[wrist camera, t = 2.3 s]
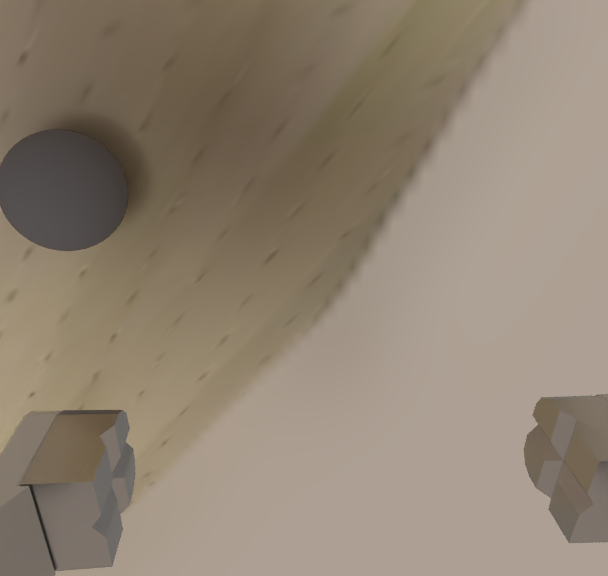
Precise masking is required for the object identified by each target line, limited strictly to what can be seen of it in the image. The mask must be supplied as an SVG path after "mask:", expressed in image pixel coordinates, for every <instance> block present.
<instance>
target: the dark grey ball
mask: <svg viewBox="0 0 608 576" xmlns="http://www.w3.org/2000/svg"><path fill="white" fill-rule="evenodd" d="M127 204H128V186H127V181H126V178H125V175H124V172H123V170H122V168H121V166H120V164H119V163H118V161H117V160H116V158H115V157H114V156H113V155H112V153H111V152H110V151H109V150H107V149H106V148H105V147H104V146H103V145H101V144H100V143H99V142H97V141H96V140H94V139H92V138H90V137H88V136H86V135H84V134H81V133H78V132H74V131H69V130H46V131H41V132H38V133H35V134H32V135H29V136H28V137H26V138H24V139H22V140H21V141H19V142H18V143H17V144H16V145H14V146H13V147H12V148H11V149H10V151H9V152H8V153H7V155H6V156H5V158H4V159H3V161H2V163H1V165H0V206H1V208H2V211H3V213H4V215H5V216H6V218H7V219H8V221H9V222H10V223H11V225H12V226H13V227H14V228H15V229H16V230H17V231H18V232H19V233H20V234H22V235H23V236H24V237H25V238H27V239H28V240H30V241H32V242H34V243H36V244H38V245H40V246H43V247H46V248H50V249H54V250H60V251H74V250H80V249H86V248H89V247H92V246H94V245H96V244H98V243H100V242H102V241H103V240H105V239H106V238H108V237H109V236H110V235H111V234H112V233H113V232H114V231H115V230H116V228H117V227H118V226H119V224H120V223H121V221H122V219H123V217H124V214H125V212H126V208H127Z"/></svg>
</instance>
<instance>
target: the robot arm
mask: <svg viewBox="0 0 608 576" xmlns="http://www.w3.org/2000/svg"><path fill="white" fill-rule="evenodd" d="M533 417H534V418H535V420H536V422H537V423H538V425H537V426H536V427H535V428H534V429H533V430H532V431H531V432H530V433H529V434H528V435H527V438H526V443H525V447H524V455H525V465H526V468H527V471H528V474H529V476H530V478H531V480H532V482H533V483H534V485H535V487H536V488H537V489H538V490H540V491H541V492H543V493H544V494H546V495H547V496H549V497H550V498H551V500H550V505H549V511H550V512H551V514H552V516H553V517H554V519H555V520H556V522H557V524H558V526H559V527H560V529H561V531H562V532H563V534H564V535H565V537H566V539H567V540H568V542H569V543H589V542H590V543H591V542H608V394H601V395H595V396H568V397H542V398H541V399H540V400H539V401H538V402H537V404H536V406H535V410H534V413H533ZM129 429H130V428H129V423H128V418H127V413H126V412H124V411H123V410H63V411H32V412H30V413H28V414H27V415H25V416H24V417H23V419H22V421H21V422H20V424H19V426H18V427H17V429H16V430H15V432H14V434H13V435H12V437H11V438H10V440H9V442H8V443H7V445H6V446H5V448H4V450H3V451H2V453H1V455H0V576H55V571H63V570H76V569H89V568H101V567H112V565H113V562H114V558H115V555H116V551H117V548H118V545H119V541H120V538H121V534H122V530H123V527H122V522H121V516H120V514H121V513H122V512H123V511H124V510H125V509H126V508H127V507H129V505H130V502H131V498H132V494H133V489H134V480H135V457H134V451H133V448H132V447H131V446H130V445H128V444H127V443H126V439H127V435H128V432H129Z"/></svg>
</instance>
